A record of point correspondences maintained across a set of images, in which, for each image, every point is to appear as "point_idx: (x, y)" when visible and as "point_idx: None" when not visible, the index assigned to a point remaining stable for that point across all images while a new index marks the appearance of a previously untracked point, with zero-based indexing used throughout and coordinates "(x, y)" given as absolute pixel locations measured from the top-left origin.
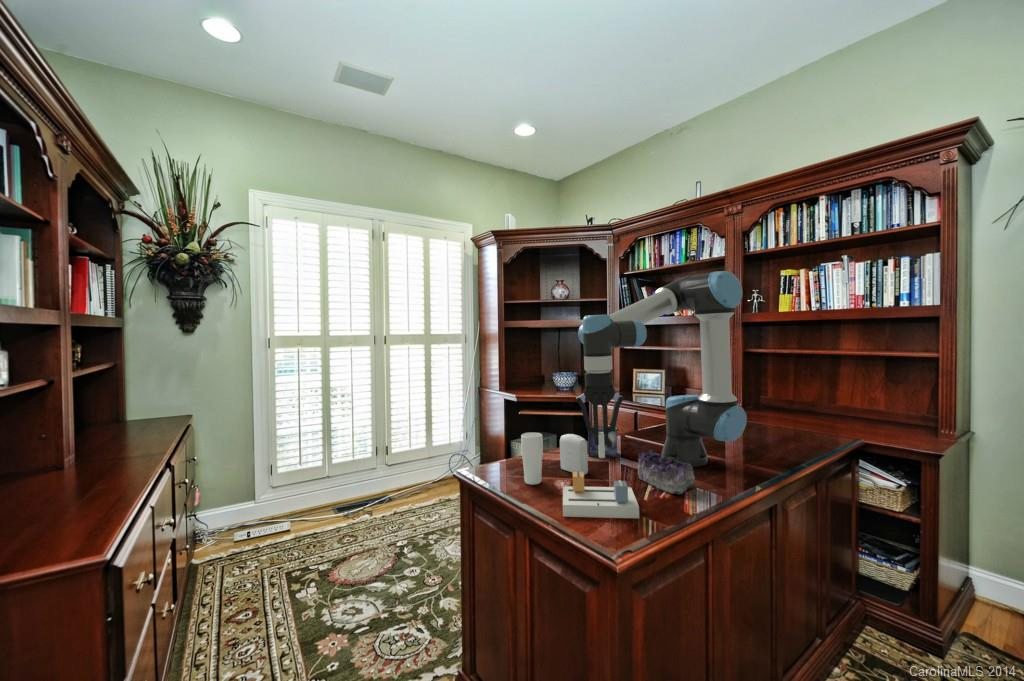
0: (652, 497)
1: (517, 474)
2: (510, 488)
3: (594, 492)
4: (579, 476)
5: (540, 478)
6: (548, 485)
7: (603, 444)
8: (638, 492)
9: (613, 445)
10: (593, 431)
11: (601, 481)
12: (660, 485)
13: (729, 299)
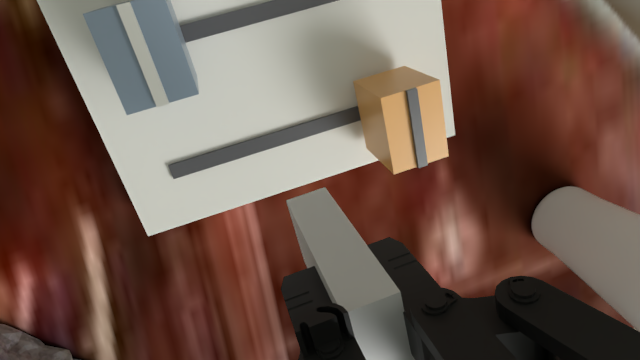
0: (60, 254)
1: None
2: (629, 127)
3: (306, 110)
4: (405, 96)
5: (543, 222)
6: (499, 208)
7: (320, 250)
8: (136, 280)
9: None
10: (466, 309)
11: None
12: (41, 354)
13: None
